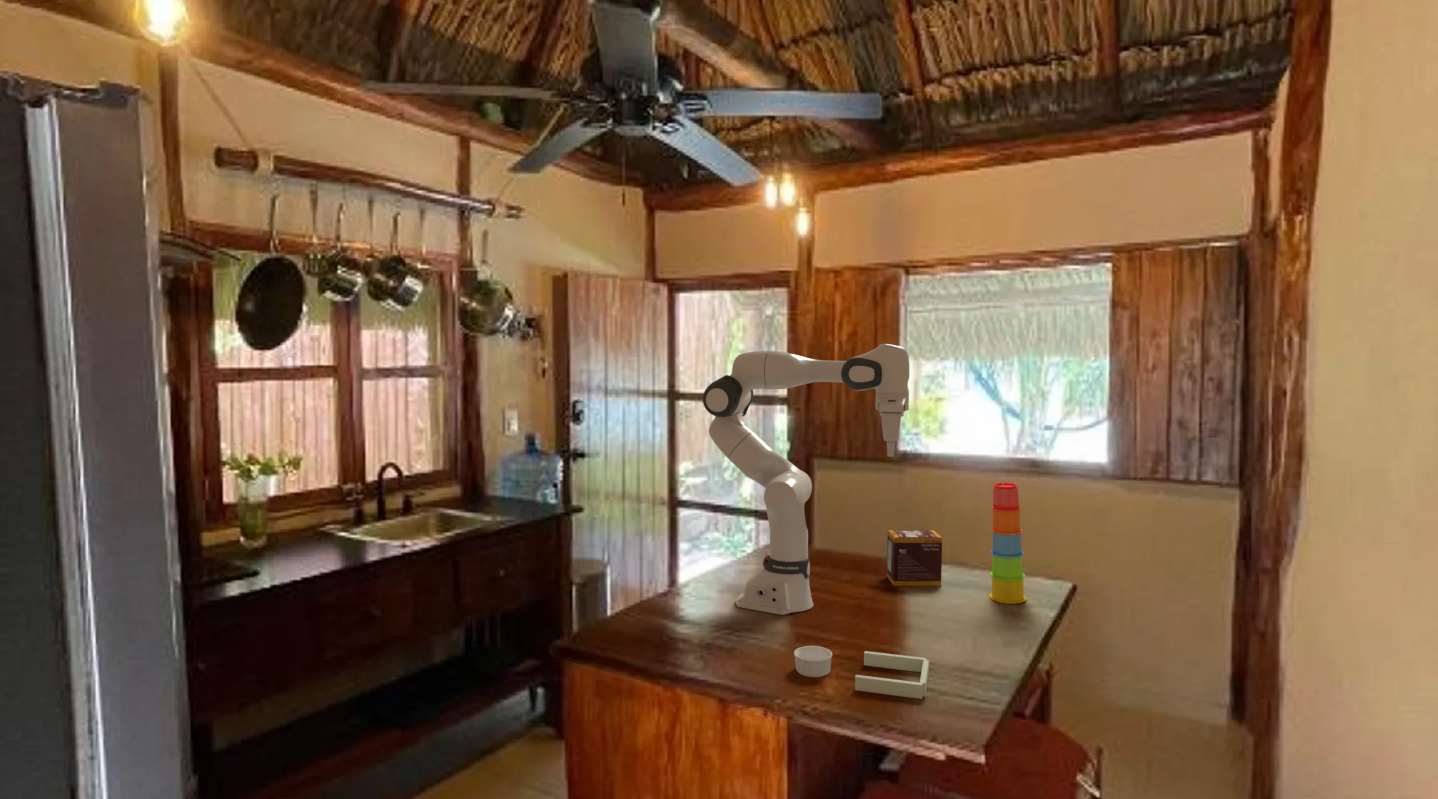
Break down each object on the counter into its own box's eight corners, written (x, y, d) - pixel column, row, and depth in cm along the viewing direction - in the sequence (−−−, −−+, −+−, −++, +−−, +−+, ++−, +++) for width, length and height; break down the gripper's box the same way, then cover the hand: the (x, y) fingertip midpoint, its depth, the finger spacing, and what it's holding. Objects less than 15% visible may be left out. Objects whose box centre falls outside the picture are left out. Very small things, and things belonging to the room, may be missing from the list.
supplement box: (942, 586, 246) (942, 537, 245) (893, 586, 246) (893, 537, 245) (933, 576, 256) (934, 529, 255) (886, 576, 257) (887, 529, 256)
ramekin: (822, 682, 176) (822, 663, 175) (787, 673, 180) (787, 655, 180) (838, 668, 183) (838, 650, 183) (804, 660, 188) (804, 642, 188)
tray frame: (855, 690, 171) (855, 676, 171) (864, 663, 186) (864, 651, 185) (924, 699, 166) (925, 685, 166) (929, 671, 181) (929, 658, 181)
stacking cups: (1026, 605, 227) (1029, 487, 224) (989, 602, 230) (991, 485, 228) (1025, 595, 236) (1027, 481, 234) (989, 592, 240) (991, 480, 237)
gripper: (881, 400, 224) (880, 448, 225) (878, 406, 204) (877, 458, 205) (904, 401, 222) (903, 449, 223) (903, 406, 202) (902, 459, 203)
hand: (891, 454), depth 214 cm, fingers open, 8 cm apart
